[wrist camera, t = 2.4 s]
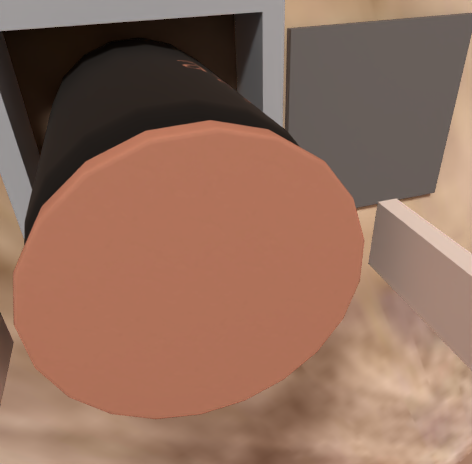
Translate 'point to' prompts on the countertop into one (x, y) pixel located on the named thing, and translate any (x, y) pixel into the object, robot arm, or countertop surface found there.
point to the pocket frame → (126, 10)
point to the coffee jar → (176, 240)
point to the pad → (377, 100)
